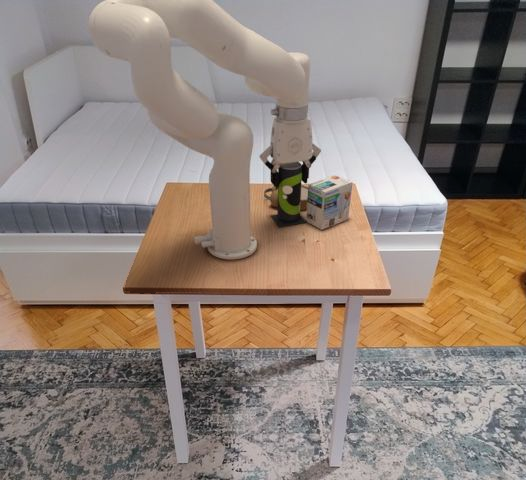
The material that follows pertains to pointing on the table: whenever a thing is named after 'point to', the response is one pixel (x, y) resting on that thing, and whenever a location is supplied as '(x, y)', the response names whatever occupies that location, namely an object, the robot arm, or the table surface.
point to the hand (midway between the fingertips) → (289, 183)
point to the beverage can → (289, 191)
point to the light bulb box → (328, 201)
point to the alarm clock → (274, 196)
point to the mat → (283, 224)
